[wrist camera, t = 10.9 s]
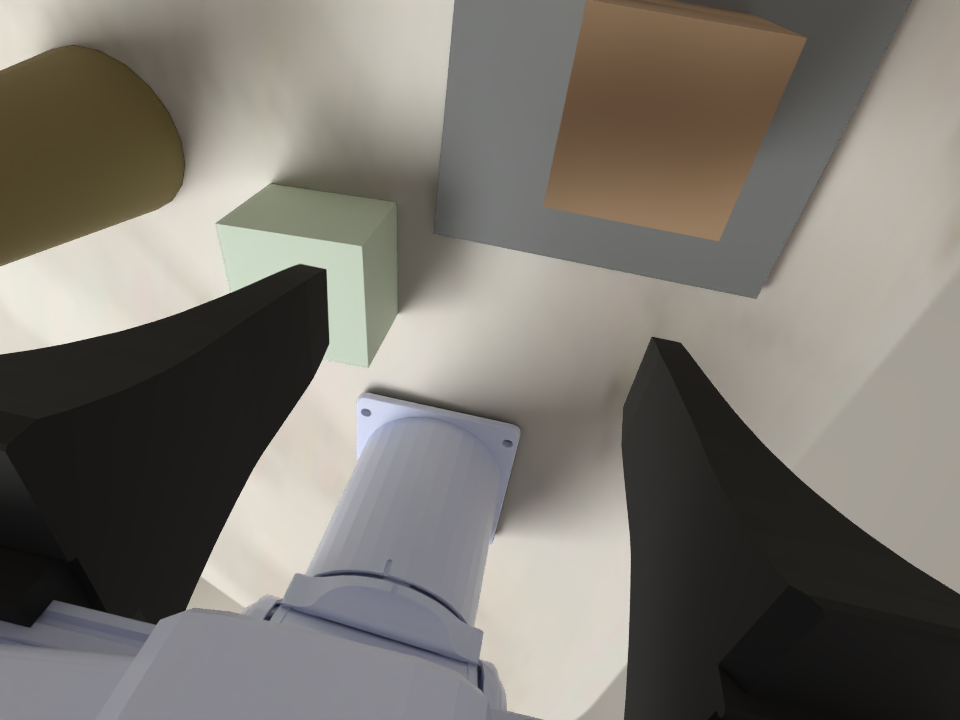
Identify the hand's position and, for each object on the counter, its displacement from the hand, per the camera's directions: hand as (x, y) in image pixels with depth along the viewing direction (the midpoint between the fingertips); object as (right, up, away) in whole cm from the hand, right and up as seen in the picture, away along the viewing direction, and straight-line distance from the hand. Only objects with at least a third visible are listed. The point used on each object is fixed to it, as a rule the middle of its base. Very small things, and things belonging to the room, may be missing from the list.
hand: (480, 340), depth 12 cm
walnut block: (+5, +8, +4) cm, 10 cm away
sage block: (-6, +4, +10) cm, 13 cm away
